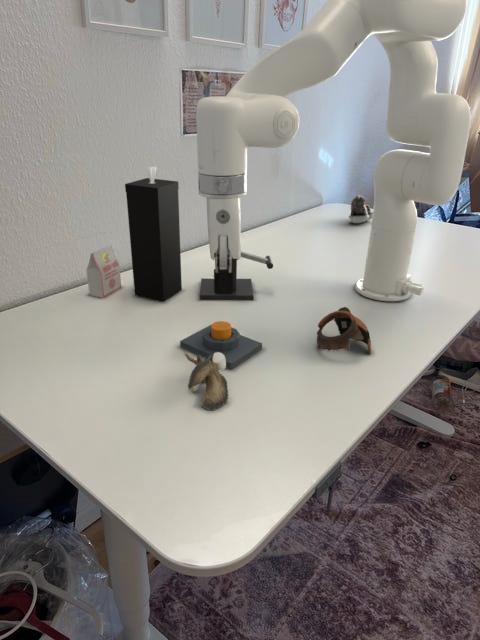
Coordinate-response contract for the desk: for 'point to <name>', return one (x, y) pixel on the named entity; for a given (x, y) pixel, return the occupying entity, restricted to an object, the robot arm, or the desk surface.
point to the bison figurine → (360, 210)
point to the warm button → (221, 330)
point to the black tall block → (154, 236)
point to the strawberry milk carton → (103, 273)
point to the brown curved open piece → (343, 331)
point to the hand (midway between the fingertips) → (223, 291)
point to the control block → (222, 346)
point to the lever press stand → (240, 288)
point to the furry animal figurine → (210, 380)
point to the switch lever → (258, 259)
